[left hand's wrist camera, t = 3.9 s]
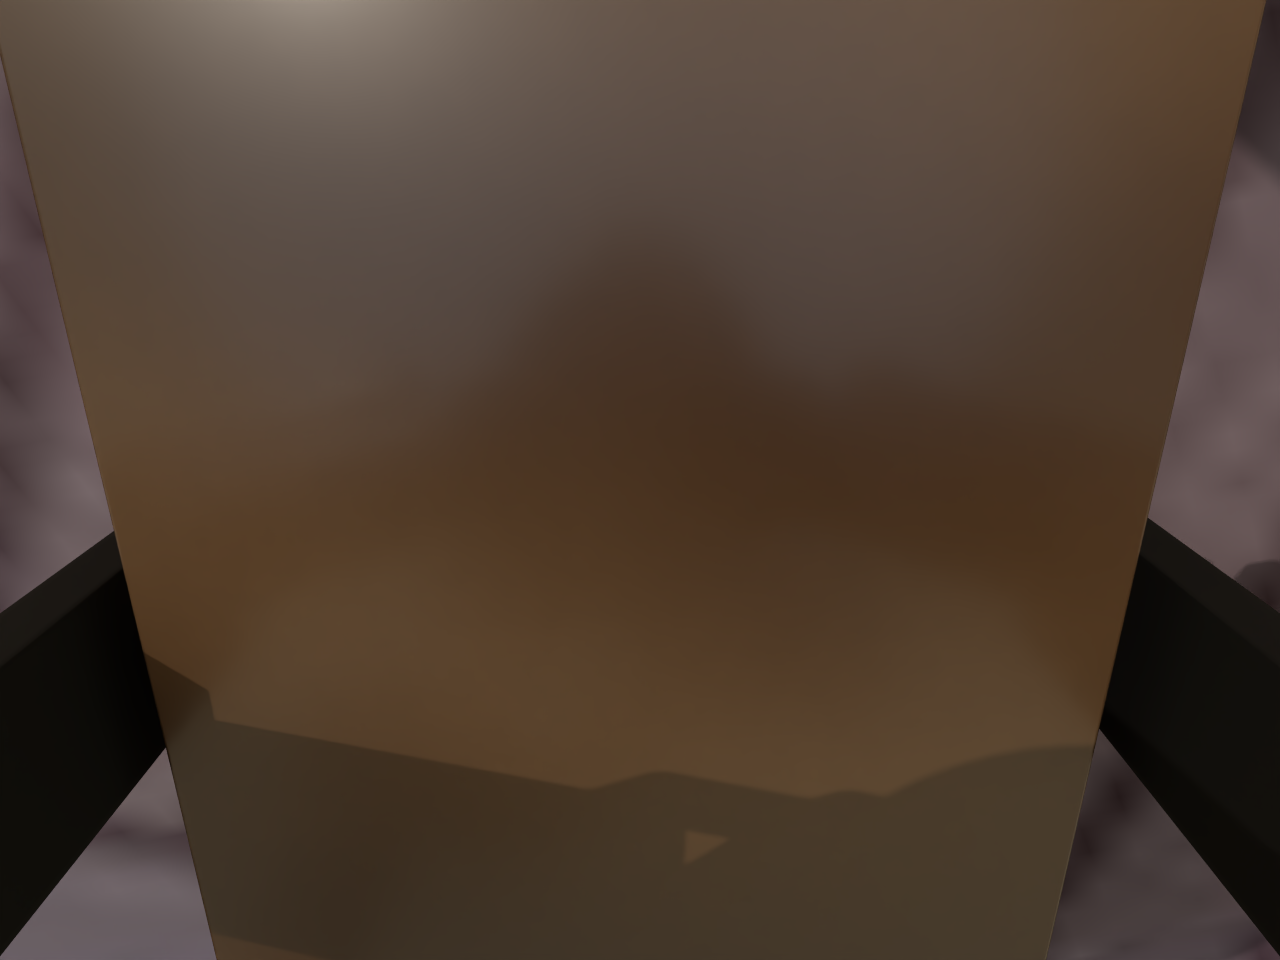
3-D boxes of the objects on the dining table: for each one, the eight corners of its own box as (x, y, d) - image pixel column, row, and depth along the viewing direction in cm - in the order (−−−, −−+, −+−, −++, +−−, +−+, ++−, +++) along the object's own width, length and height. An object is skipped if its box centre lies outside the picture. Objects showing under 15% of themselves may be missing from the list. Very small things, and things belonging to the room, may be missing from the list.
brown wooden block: (262, -474, 13) (-401, -1598, 5) (998, -472, 13) (1633, -1580, 5) (393, 633, 20) (218, 974, 12) (873, 632, 20) (1044, 970, 12)
